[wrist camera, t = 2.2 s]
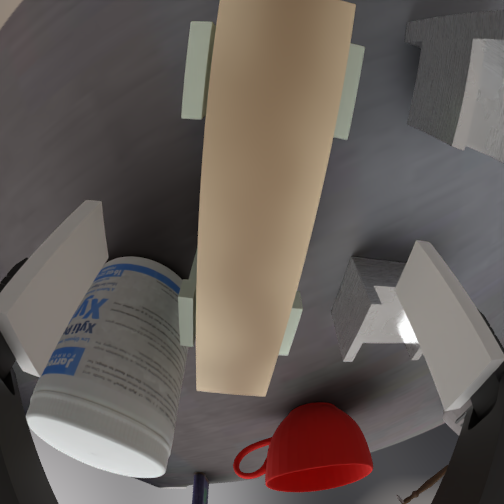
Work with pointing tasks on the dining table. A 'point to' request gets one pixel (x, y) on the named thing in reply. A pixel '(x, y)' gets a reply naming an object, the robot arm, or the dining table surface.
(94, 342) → the supplement tub
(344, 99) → the rack
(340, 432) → the ceramic cup
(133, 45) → the dining table surface
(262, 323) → the rail
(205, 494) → the flask
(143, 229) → the dining table surface
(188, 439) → the dining table surface
